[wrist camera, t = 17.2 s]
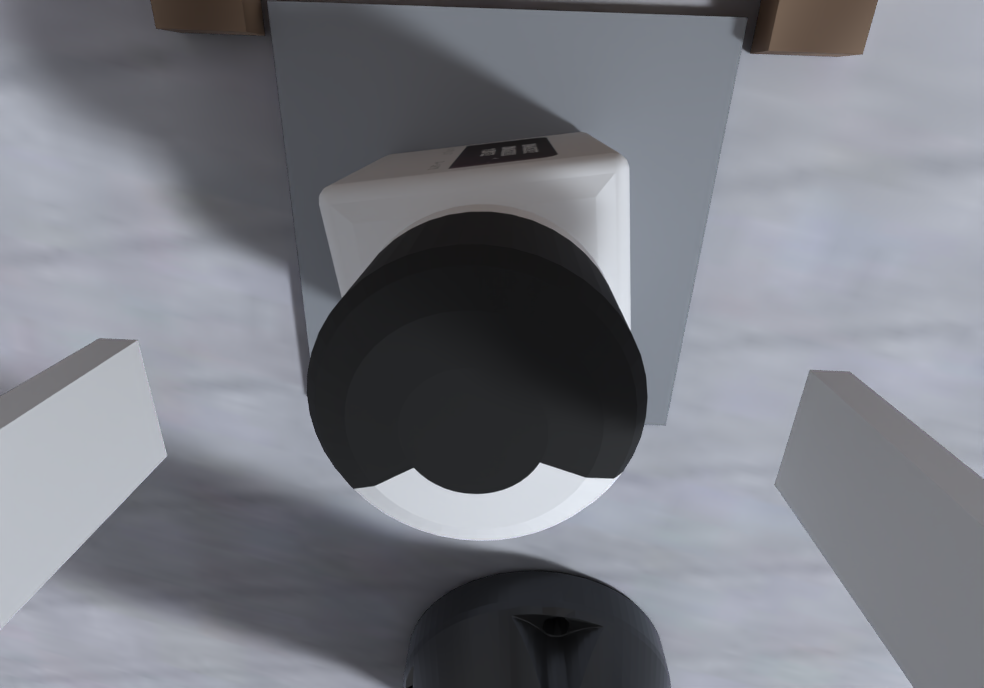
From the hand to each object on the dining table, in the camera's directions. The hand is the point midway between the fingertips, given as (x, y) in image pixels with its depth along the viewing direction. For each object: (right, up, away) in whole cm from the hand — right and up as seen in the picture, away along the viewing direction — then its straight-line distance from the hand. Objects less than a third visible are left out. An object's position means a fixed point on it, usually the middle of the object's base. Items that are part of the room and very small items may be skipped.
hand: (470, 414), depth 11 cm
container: (+1, +5, +11) cm, 12 cm away
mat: (+1, +6, +11) cm, 12 cm away
